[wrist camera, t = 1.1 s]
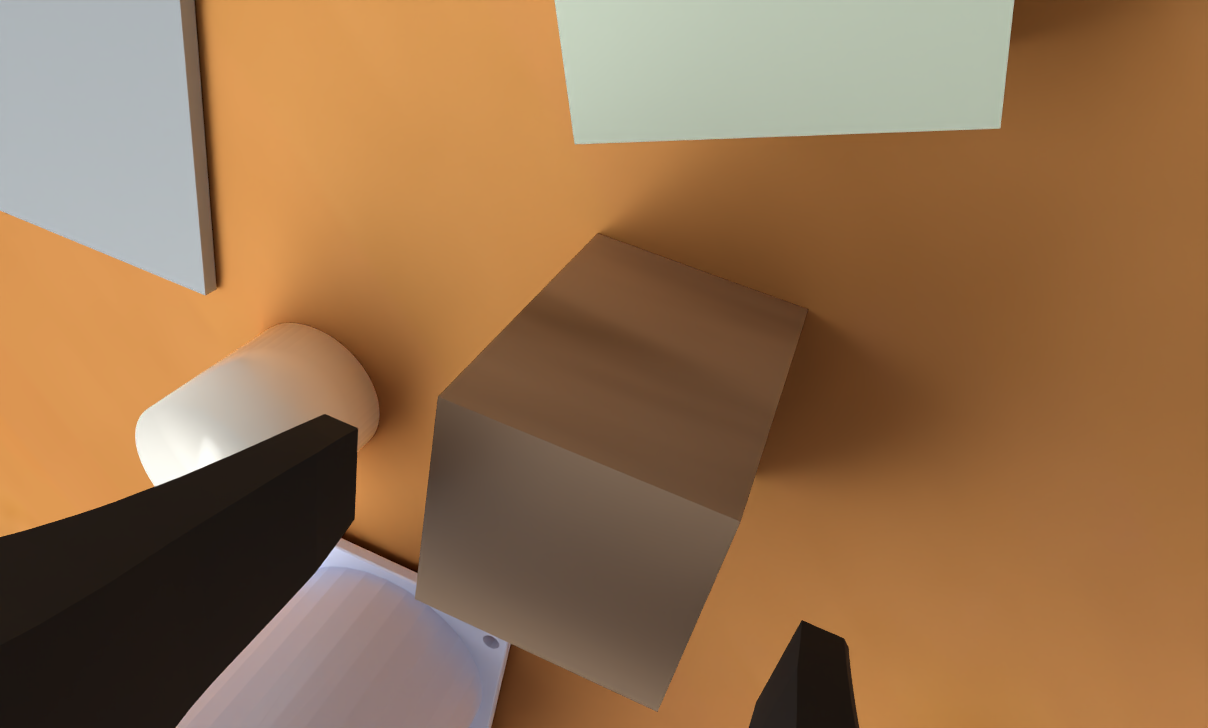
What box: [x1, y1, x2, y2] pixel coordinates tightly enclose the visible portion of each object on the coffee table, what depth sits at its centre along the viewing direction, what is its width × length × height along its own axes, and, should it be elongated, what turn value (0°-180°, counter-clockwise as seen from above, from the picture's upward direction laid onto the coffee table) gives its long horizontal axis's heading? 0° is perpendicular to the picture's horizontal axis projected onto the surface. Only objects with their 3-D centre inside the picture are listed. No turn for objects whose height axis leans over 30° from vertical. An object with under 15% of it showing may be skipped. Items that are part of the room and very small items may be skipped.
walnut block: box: [415, 233, 808, 712], centre depth 15 cm, size 4×4×6 cm
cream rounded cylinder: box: [135, 323, 380, 486], centre depth 20 cm, size 4×4×4 cm
